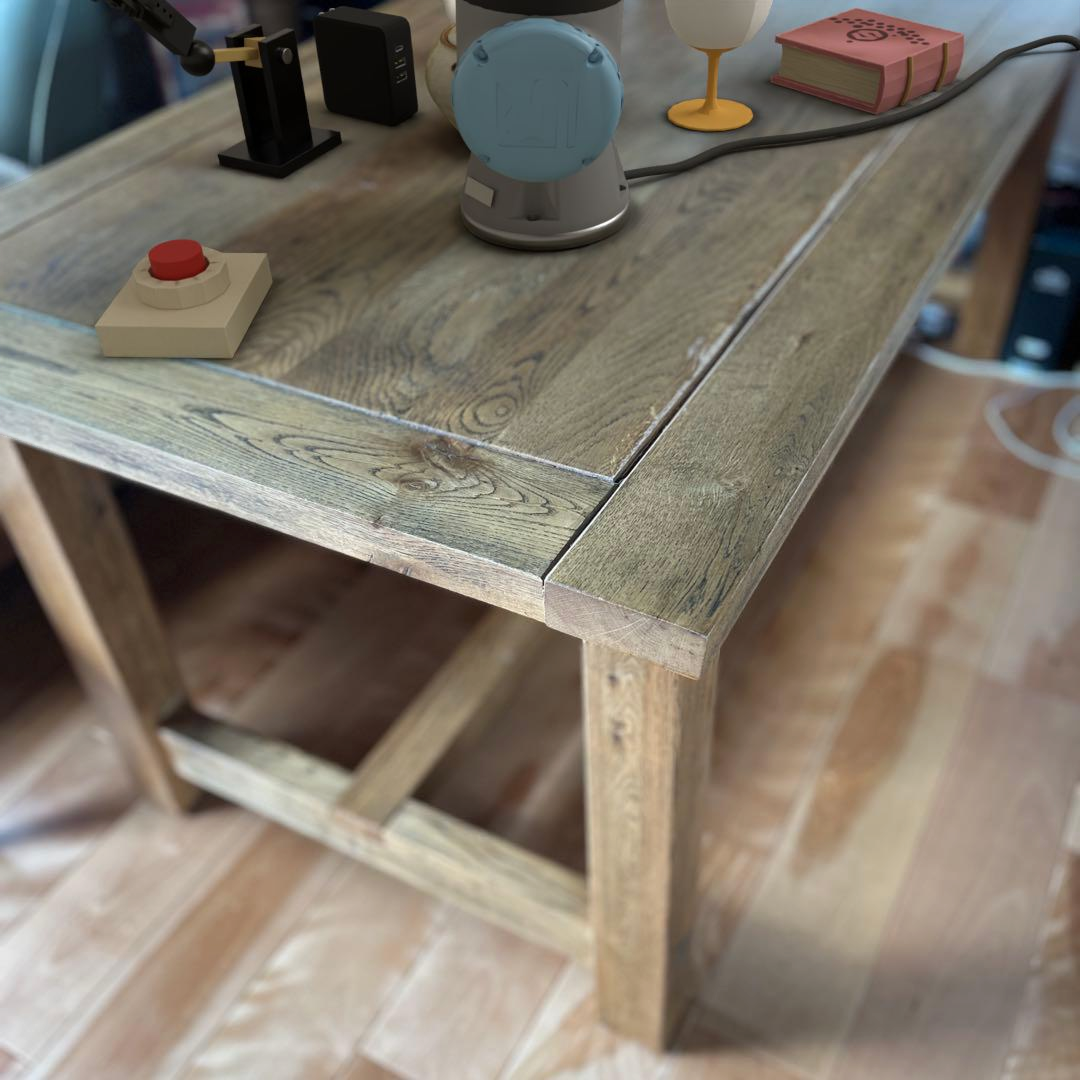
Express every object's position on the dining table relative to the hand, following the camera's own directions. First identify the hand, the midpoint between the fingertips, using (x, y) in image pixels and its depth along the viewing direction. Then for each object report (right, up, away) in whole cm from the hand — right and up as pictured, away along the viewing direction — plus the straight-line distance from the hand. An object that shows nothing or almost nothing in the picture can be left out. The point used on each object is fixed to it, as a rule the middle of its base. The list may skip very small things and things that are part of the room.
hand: (185, 41), depth 98 cm
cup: (+50, +1, +20) cm, 53 cm away
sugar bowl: (+28, -2, +17) cm, 33 cm away
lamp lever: (+2, 0, +6) cm, 6 cm away
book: (+68, +7, +26) cm, 73 cm away
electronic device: (+13, +2, +24) cm, 27 cm away
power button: (+4, -24, -13) cm, 27 cm away
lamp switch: (+5, -5, +15) cm, 17 cm away
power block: (+4, -27, -10) cm, 29 cm away
